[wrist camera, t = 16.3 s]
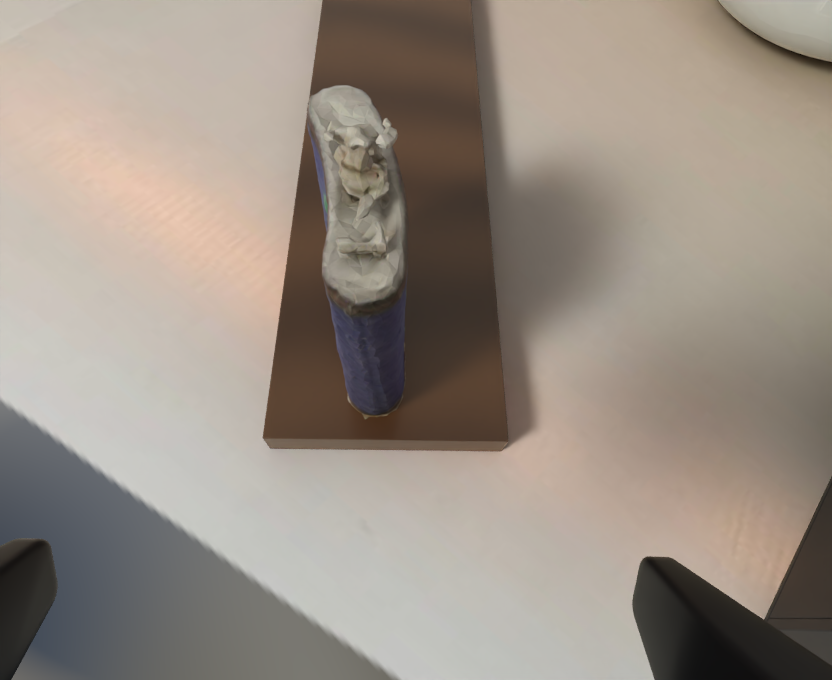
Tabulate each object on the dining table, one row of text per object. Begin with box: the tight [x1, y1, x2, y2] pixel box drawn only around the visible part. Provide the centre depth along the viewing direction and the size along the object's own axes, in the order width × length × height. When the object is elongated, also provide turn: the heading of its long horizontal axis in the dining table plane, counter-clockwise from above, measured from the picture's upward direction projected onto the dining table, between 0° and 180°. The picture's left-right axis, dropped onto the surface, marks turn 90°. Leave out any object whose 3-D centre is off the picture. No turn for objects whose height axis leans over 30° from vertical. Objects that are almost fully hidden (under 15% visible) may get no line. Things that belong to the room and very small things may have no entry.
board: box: [263, 0, 508, 451], centre depth 31 cm, size 40×10×2 cm, turn 0°
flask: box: [307, 85, 409, 419], centre depth 19 cm, size 9×3×11 cm, turn 9°
